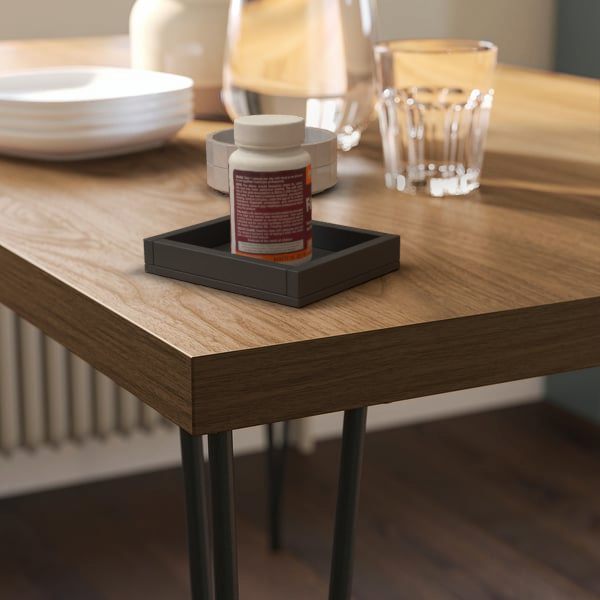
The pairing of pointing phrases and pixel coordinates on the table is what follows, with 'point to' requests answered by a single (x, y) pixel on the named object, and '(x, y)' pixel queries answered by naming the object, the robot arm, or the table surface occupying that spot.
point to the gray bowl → (316, 145)
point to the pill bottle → (271, 190)
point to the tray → (270, 275)
